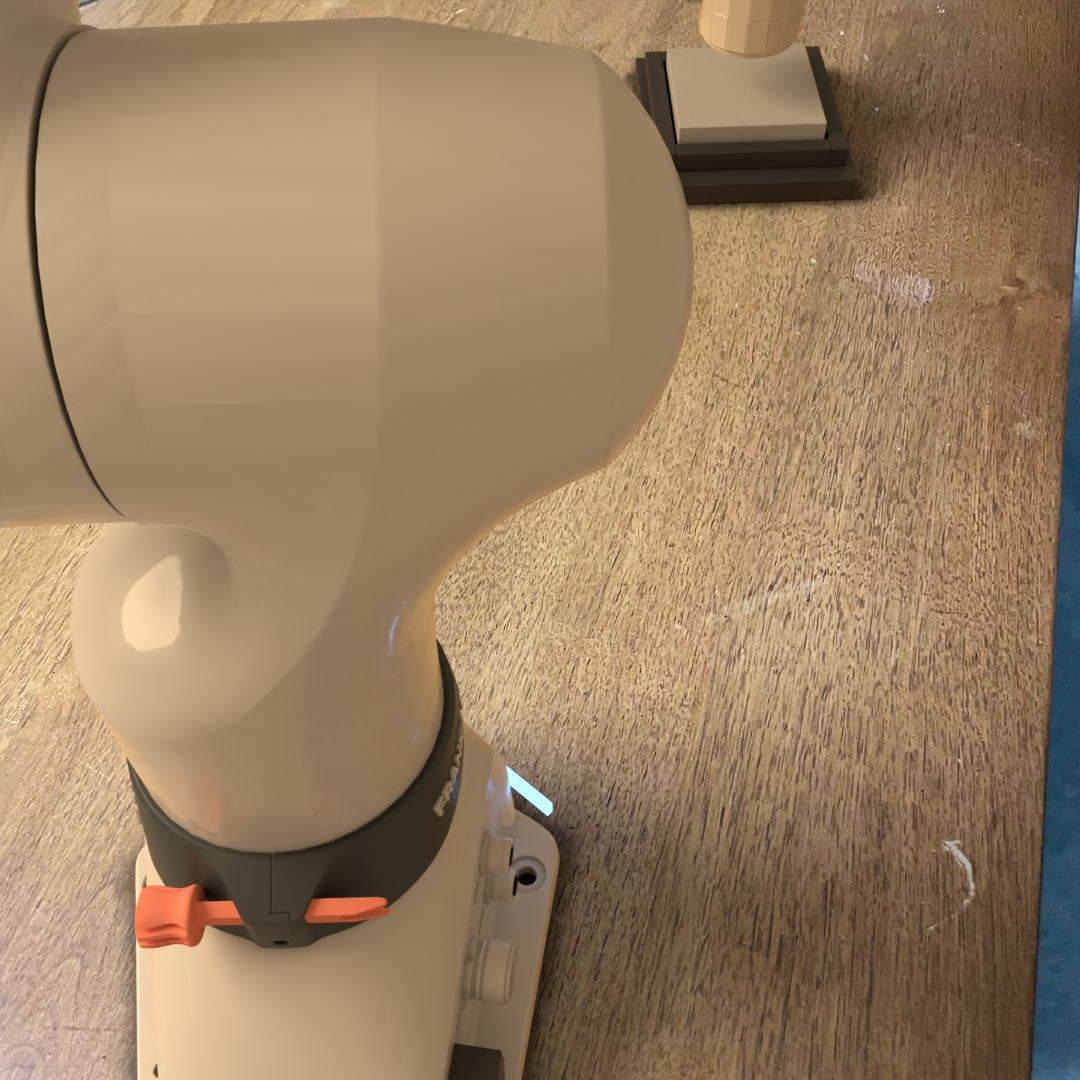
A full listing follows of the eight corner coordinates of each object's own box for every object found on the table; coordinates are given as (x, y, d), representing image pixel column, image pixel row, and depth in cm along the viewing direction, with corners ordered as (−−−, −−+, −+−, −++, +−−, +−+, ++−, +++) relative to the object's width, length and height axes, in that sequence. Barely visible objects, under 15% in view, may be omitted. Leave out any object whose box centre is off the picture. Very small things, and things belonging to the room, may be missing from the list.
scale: (854, 199, 83) (862, 161, 80) (650, 206, 83) (652, 168, 81) (817, 70, 93) (823, 34, 90) (634, 76, 93) (636, 40, 90)
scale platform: (823, 142, 83) (827, 122, 81) (677, 147, 83) (679, 127, 82) (801, 62, 89) (804, 43, 88) (665, 67, 89) (667, 47, 88)
